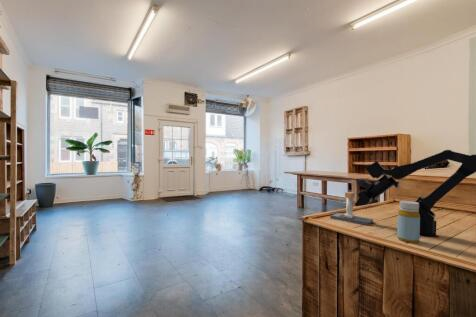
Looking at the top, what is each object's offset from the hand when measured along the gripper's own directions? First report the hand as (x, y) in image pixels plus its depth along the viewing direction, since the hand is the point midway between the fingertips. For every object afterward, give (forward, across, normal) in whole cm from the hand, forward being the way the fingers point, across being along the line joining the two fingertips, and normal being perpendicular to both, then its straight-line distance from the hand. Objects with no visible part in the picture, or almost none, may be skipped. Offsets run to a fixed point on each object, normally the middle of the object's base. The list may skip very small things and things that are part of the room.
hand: (355, 205), depth 121 cm
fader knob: (+6, 0, +2) cm, 7 cm away
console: (+7, 0, +4) cm, 8 cm away
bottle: (-12, +15, +23) cm, 30 cm away
